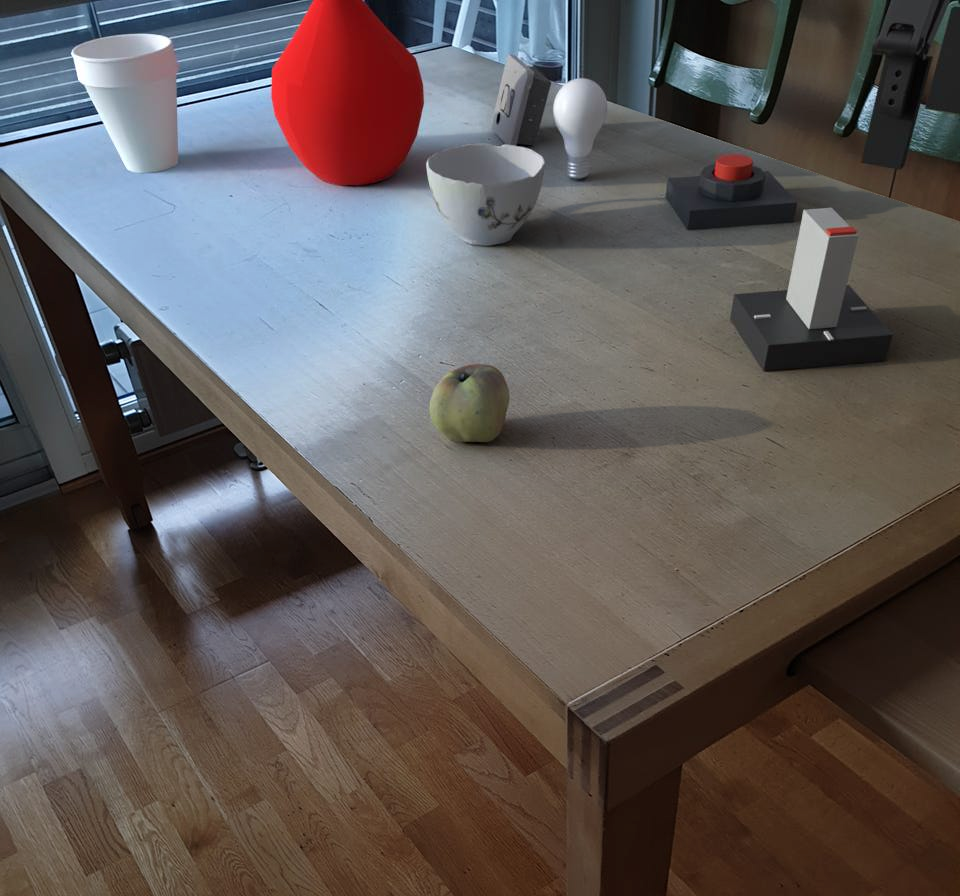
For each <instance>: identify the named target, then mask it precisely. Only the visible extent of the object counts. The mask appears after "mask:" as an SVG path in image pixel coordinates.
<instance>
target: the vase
mask: <svg viewBox="0 0 960 896" xmlns="http://www.w3.org/2000/svg"><path fill="white" fill-rule="evenodd" d="M422 78H423V77H422V74H421V70H420V67H419V63H418V60H417V57H415V56H414V55H413V53H411V52H410V51H409V49H408V48H407V47H406V46H405V45H404V44H403V43H402V42H401V41H400V40H399V39H398V38H397V37H396V36H395V35H394V34H393V33H392V32H391V31H390V30H389V29H388V28H387V27H386V26H385V25H384V23H383V22H382V21H381V20H380V18H379V17H378V16H377V15H376V14H375V13H374V12H373V10H372V9H371V7H370V6H369V5H367V3H366V2H365V1H364V0H312V3H311V4H310V6H309V8H308V9H307V11H306V13H305V15H304V17H303V18H302V21H301V22H300V23H299V25H298V27H297V29H296V31H295V33H294V35H293V36H292V38H291V39H290V40H289V42H288V44H287V45H286V47H285V49H284V50H283V51H282V53H281V55H280V56H279V58H278V59H277V61H276V62H275V64H274V65H273V67H272V68H271V88H270V89H271V91H270V94H271V95H270V97H271V103H272V109H273V113H274V117H275V120H276V121H277V123H278V125H279V128H280V130H281V132H282V134H283V136H284V138H285V140H286V142H287V144H288V147H289V148H290V150H291V151H292V152H293V153H294V154H295V155H296V157H297V158H298V160H299V161H300V162H301V163H302V164H303V166H304V167H305V168H306V169H307V170H308V171H309V172H311V174H313V175H314V176H315V177H317V179H319V180H321V181H323V182H325V183H327V184H332V185H336V184H337V186H345V185H355V186H364V185H370V183H371V184H374V183H375V184H376V183H378V182H381V181H384V180H387V179H388V178H390V177H392V176H393V175H395V173H396V172H397V171H398V170H399V169H400V168H401V166H402V165H403V164H404V163H405V161H406V160H407V157H408V156H409V153H410V151H411V150H412V147H413V145H414V143H415V141H416V138H417V137H418V133H419V128H420V125H421V124H420V123H421V120H422V115H423V110H424V106H425V96H424V95H425V93H424V91H425V90H424V83H423V79H422Z"/></svg>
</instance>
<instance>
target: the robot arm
mask: <svg viewBox="0 0 960 896" xmlns="http://www.w3.org/2000/svg"><path fill="white" fill-rule="evenodd" d="M957 2H958V4H959V5H960V0H957ZM950 3H951V0H890V3H889V6H888V9H887V11H886V15H885V17H884V19H883V20H884V21H883V24H882V26H881V30H880V32H879V34H878V36H877V37H876V36H875V37H874V39H873V43H872V48H871V54H872V55H879V56H884V61H883V65H882V69H881V74H880V77H879V82H878V86H877V91H876V95H875V100H874V105H873V109H872V113H871V115H870V122H869V126H868V130H867V135H866V139H865V143H864V146H863V147H864V148H863V151H862V156H861V160H860V164H865V165H870V166H871V165H872V166H877V167H883V168H888V169H894V170H899V171H900V170H902V169H903V168H905V165H906V162H907V157H908V153H909V150H910V147H911V146H910V145H911V142H912V138H913V135H914V131H915V127H916V122H917V120H918V116H919V111H920V109H921V104H922V100H923V96H924V92H925V88H926V86H927V81H928V78H929V73H930V69H931V65H932V62H933V58H934V56H930V55H929V54H930V52H931V49H932V44H933V43H934V41H935V38H936V35H937V33H938V31H939V28H940V26H941V24H942V21H943V19H944V17H945V14H946V12H947V9H948V7H949V5H950ZM938 53H939V54H938V57H937V61H936V65H935V69H934V72H933V75H932V79H931V84H930V88H929V91H928V94H927V99H926V102H925V106H924V110H930V111H938V112H945V113H951V114H958V115H960V6H953V7H951V9H950V12H949V16H948V20H947V23H946V27H945V31H944V35H943V38H942V42H941V46H940V50H939V52H938Z"/></svg>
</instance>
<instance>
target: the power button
mask: <svg viewBox="0 0 960 896" xmlns="http://www.w3.org/2000/svg"><path fill="white" fill-rule="evenodd" d="M715 164H716V166H715V174H714V177H716V178H719V179H722V180H730V181H739V180H746V179H749V178H751V173H752V166H754V159H753V158H751V157H749V156H747V155H745V154H744V155H743V154H738V153H737V154H736V153H731V154H723V155H720V156H718V157H717V158H716V160H715Z"/></svg>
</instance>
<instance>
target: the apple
mask: <svg viewBox="0 0 960 896" xmlns="http://www.w3.org/2000/svg"><path fill="white" fill-rule="evenodd" d="M510 398H511V397H510V390H509V386H508V383H507V381H506V378H505V376H504V375H503V373H502V372H501V371H500V370H499V369H498V368H497V367H495V366H493V365H490V364H486V363H477V364H467V365H463V366H460V367H457V368H455V369H453V370H450V371H449V372H447V373H446V374H444V376H443V377H442V379H441V380H440V381H439V382H438V383H437V385H436V386H435V388H434V389H433V392H432V394H431V396H430V399H429V407H428V409H429V410H428V411H429V416H430V420H431V422H432V424H433V425H434V426H433V427H435V429H437V431H438V432H439V433H440V434H441V435H442V436H443V437H445V439H446V440H448V441H450V442H453V443H467V442H470V443H471V442H473V443H474V442H479V443H489V442H492V441H494V440H495V439H496V438H497V437H499V435H500V433H501V432H502V430H503V427H504V425H505V423H506V418H507V412H508V408H509V405H510V400H511V399H510Z"/></svg>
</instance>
